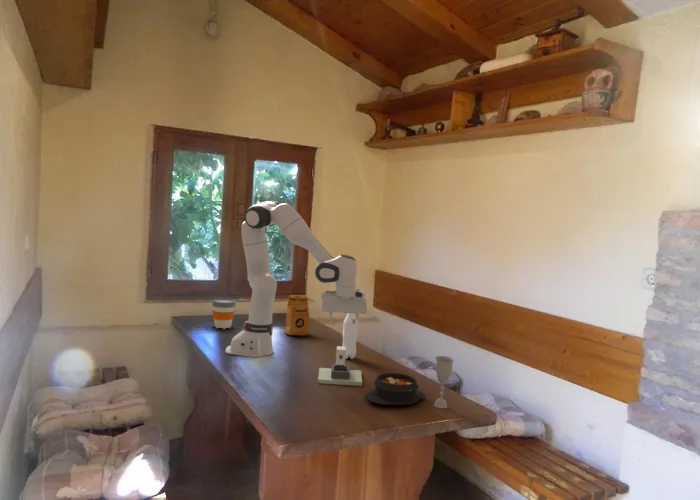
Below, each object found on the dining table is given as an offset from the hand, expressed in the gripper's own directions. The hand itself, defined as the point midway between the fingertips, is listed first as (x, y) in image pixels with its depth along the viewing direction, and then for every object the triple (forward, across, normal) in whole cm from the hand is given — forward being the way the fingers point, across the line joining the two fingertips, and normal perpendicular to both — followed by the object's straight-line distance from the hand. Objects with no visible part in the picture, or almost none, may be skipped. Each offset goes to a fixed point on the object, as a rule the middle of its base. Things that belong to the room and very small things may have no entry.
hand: (343, 322), depth 241 cm
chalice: (+21, +38, -40) cm, 59 cm away
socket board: (+21, 0, -15) cm, 25 cm away
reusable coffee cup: (+20, -66, +63) cm, 94 cm away
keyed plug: (+21, 0, 0) cm, 21 cm away
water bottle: (+21, +4, +17) cm, 27 cm away
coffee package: (+21, -24, +57) cm, 65 cm away
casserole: (+21, +21, -37) cm, 47 cm away
